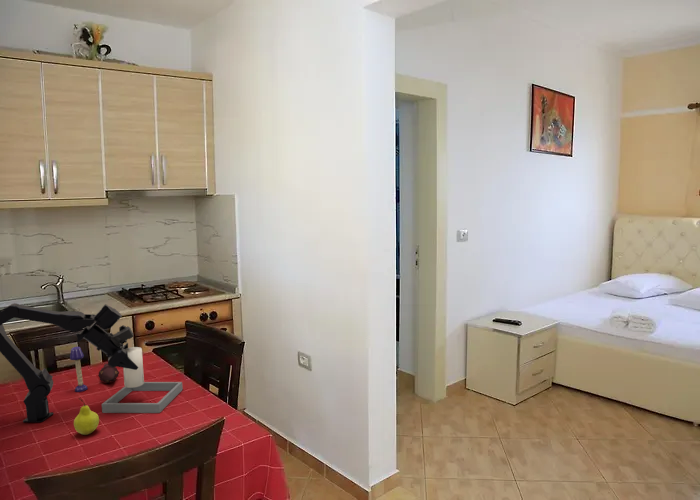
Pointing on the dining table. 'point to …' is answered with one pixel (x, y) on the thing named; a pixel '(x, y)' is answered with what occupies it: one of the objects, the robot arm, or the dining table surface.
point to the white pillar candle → (130, 375)
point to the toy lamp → (78, 367)
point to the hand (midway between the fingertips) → (137, 365)
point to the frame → (115, 407)
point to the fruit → (86, 420)
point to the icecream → (108, 373)
